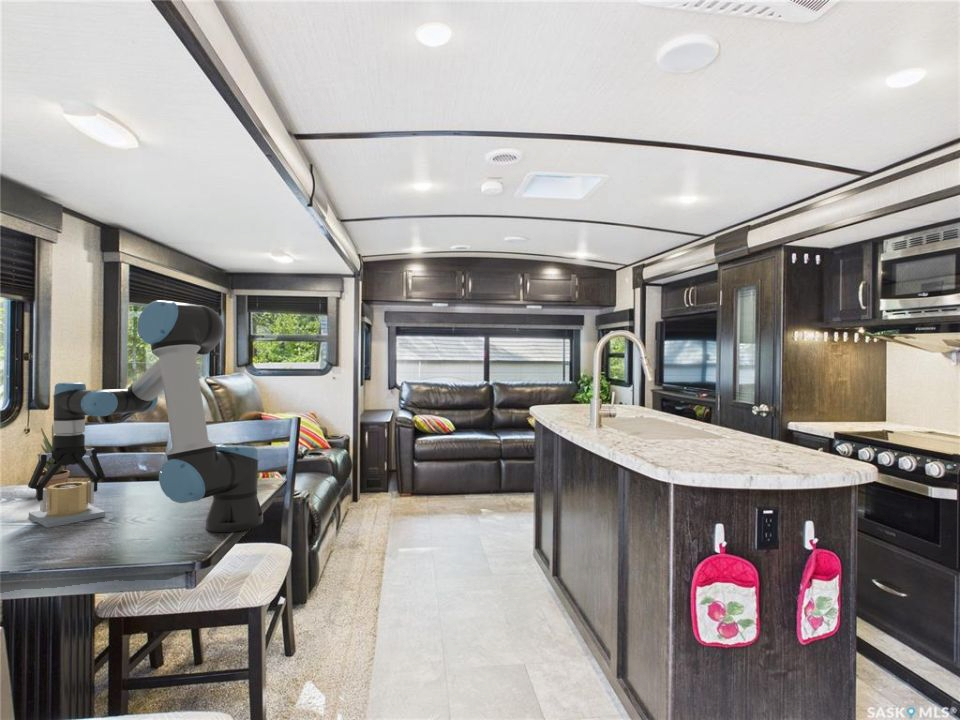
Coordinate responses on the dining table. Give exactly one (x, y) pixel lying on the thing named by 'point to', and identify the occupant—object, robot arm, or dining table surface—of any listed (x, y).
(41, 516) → the block
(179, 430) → the robot arm
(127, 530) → the dining table surface
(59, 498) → the bronze sleeve
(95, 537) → the dining table surface
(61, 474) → the potted plant
